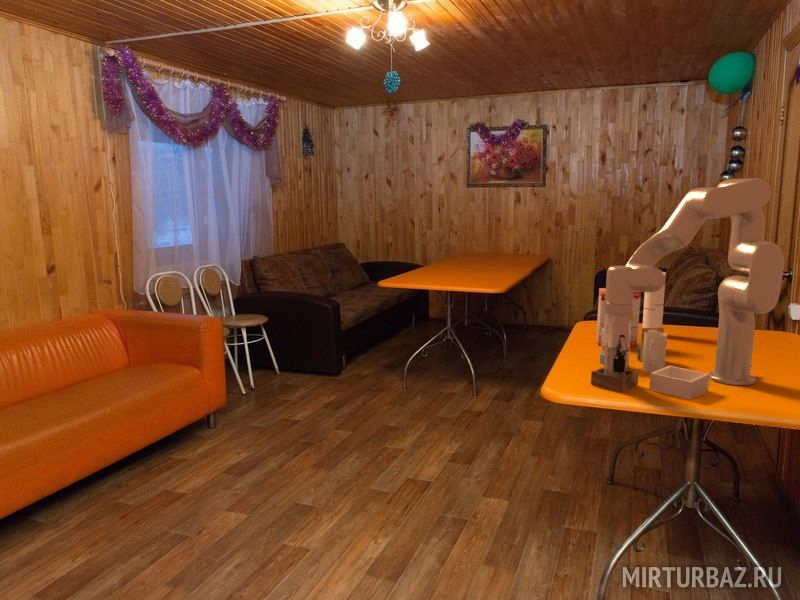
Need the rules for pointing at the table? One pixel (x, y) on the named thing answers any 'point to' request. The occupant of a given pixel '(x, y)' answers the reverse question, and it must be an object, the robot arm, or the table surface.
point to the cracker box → (632, 318)
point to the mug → (654, 351)
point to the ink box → (603, 345)
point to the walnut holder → (614, 380)
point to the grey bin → (679, 382)
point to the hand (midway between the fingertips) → (615, 367)
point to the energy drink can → (609, 362)
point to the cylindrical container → (653, 309)
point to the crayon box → (641, 341)
